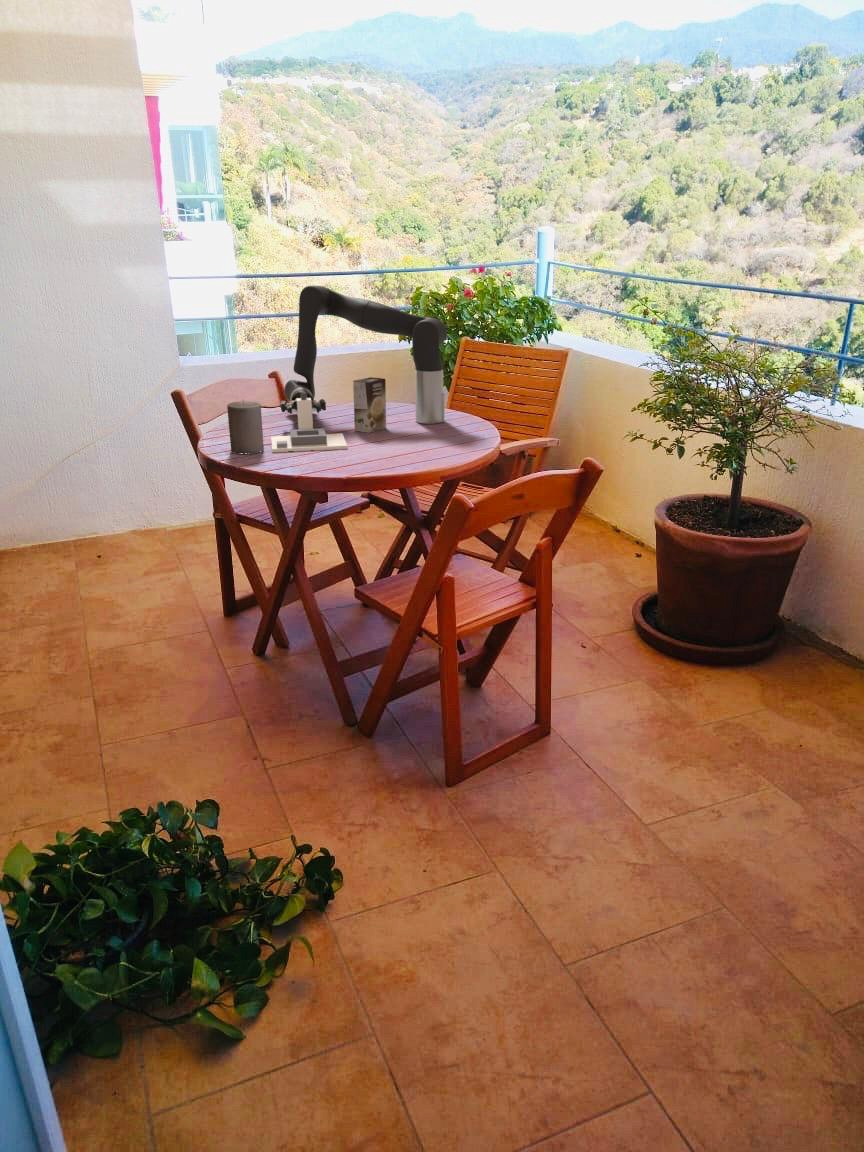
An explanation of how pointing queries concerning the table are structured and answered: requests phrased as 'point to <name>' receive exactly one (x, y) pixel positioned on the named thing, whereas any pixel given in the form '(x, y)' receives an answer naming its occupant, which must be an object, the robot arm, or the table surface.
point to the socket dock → (329, 446)
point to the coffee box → (369, 404)
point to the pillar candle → (245, 427)
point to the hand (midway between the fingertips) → (304, 410)
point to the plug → (304, 412)
